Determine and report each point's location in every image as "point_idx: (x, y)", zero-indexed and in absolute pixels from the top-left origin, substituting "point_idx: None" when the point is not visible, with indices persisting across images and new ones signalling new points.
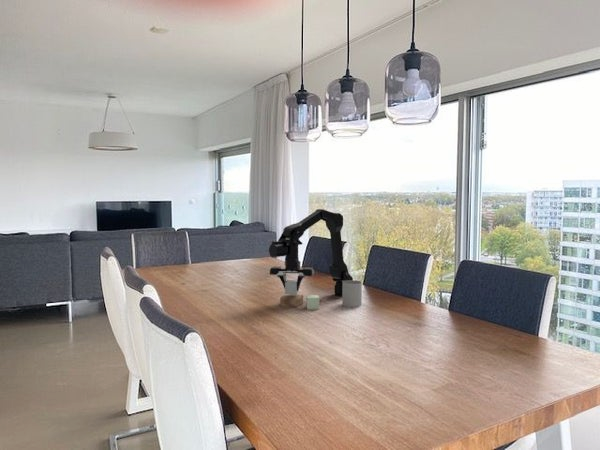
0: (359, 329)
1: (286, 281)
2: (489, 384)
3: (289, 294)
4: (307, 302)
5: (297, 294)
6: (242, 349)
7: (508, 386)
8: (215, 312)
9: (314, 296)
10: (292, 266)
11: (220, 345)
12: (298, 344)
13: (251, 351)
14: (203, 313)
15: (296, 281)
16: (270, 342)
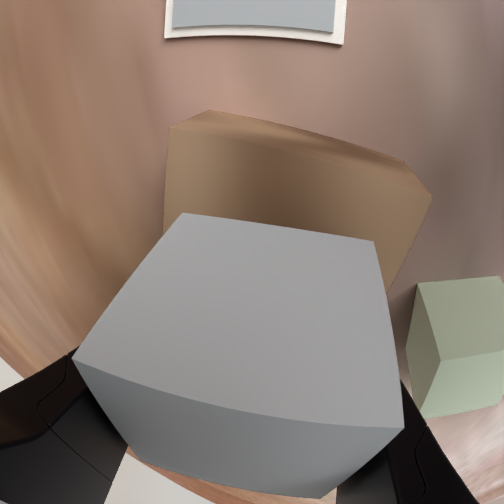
0: (473, 463)
1: (125, 435)
2: (481, 500)
3: (226, 177)
4: (412, 390)
5: (350, 172)
6: (223, 495)
7: (491, 497)
8: (17, 338)
9: (487, 382)
10: None
11: (181, 482)
12: (316, 501)
13: (240, 499)
14: (6, 340)
15: (332, 469)
16: (263, 495)
